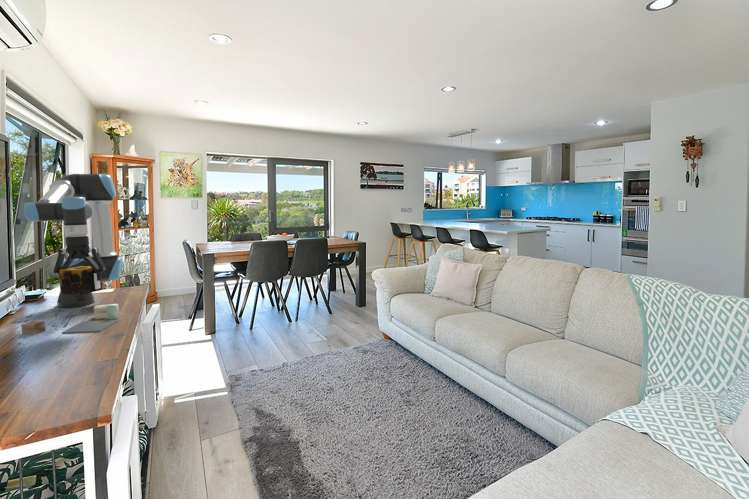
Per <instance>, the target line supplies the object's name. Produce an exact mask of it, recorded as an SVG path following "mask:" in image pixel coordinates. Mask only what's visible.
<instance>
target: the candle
mask: <svg viewBox="0 0 749 499" xmlns="http://www.w3.org/2000/svg"><path fill="white" fill-rule="evenodd" d="M59 271H60V279H61V293H62V294H70V295H71V294H78V295H83V294H87V293H91V292H92V293H95V292H99V291H102V290H103V281H102V280H101V281H100V284H101V288H99V289H95V282H94V273H96V272H95V271H94V270H93V269H92V267H91V266H80V267H73V268H68V269H62V270H59Z"/></svg>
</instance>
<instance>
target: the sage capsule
mask: <svg viewBox="0 0 749 499" xmlns="http://www.w3.org/2000/svg"><path fill="white" fill-rule="evenodd" d="M108 304H109V303H108ZM106 305H107V304H106ZM106 308H107V318H106V319H107V320H118V319H120V309H119V304H118V303H110V304H109V305H107V306H106Z"/></svg>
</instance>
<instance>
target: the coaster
mask: <svg viewBox="0 0 749 499" xmlns="http://www.w3.org/2000/svg"><path fill="white" fill-rule="evenodd" d="M118 321H119V320H118V319H114V320H108V319H107V320H106V319H105V320H104V319H103V320H87V321H86V320H85V321H83V320H81V322H79V323H76V324H75V325H73V326H71V327H69V328H67V329H66V330H63V331H61V334H81V333H83V334H84V333H99V332H103V331H104V330H106V329H107V328H109V327H111V326H112V325H114V324H115V323H117V322H118Z"/></svg>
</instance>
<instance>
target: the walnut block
mask: <svg viewBox="0 0 749 499" xmlns="http://www.w3.org/2000/svg"><path fill="white" fill-rule="evenodd" d="M20 326H21V334H22V335H32V336H33V335H37V334H40V333H42V332H44V331H45V332H46V324H45V320H43V321H42V320H32V321H28V322H25V323H22V324H20Z"/></svg>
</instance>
